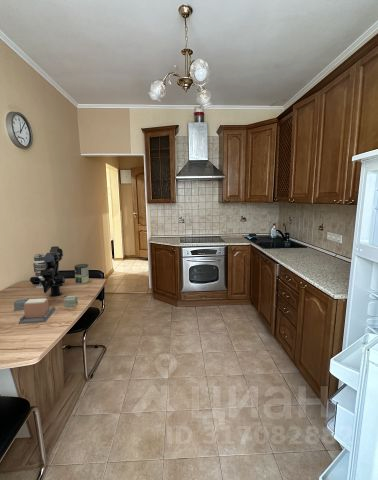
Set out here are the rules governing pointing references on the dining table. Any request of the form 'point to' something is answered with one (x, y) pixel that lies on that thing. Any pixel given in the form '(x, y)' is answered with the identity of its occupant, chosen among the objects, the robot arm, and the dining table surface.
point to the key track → (37, 319)
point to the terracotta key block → (36, 308)
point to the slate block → (20, 304)
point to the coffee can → (81, 273)
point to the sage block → (70, 301)
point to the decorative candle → (39, 267)
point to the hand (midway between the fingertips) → (44, 292)
